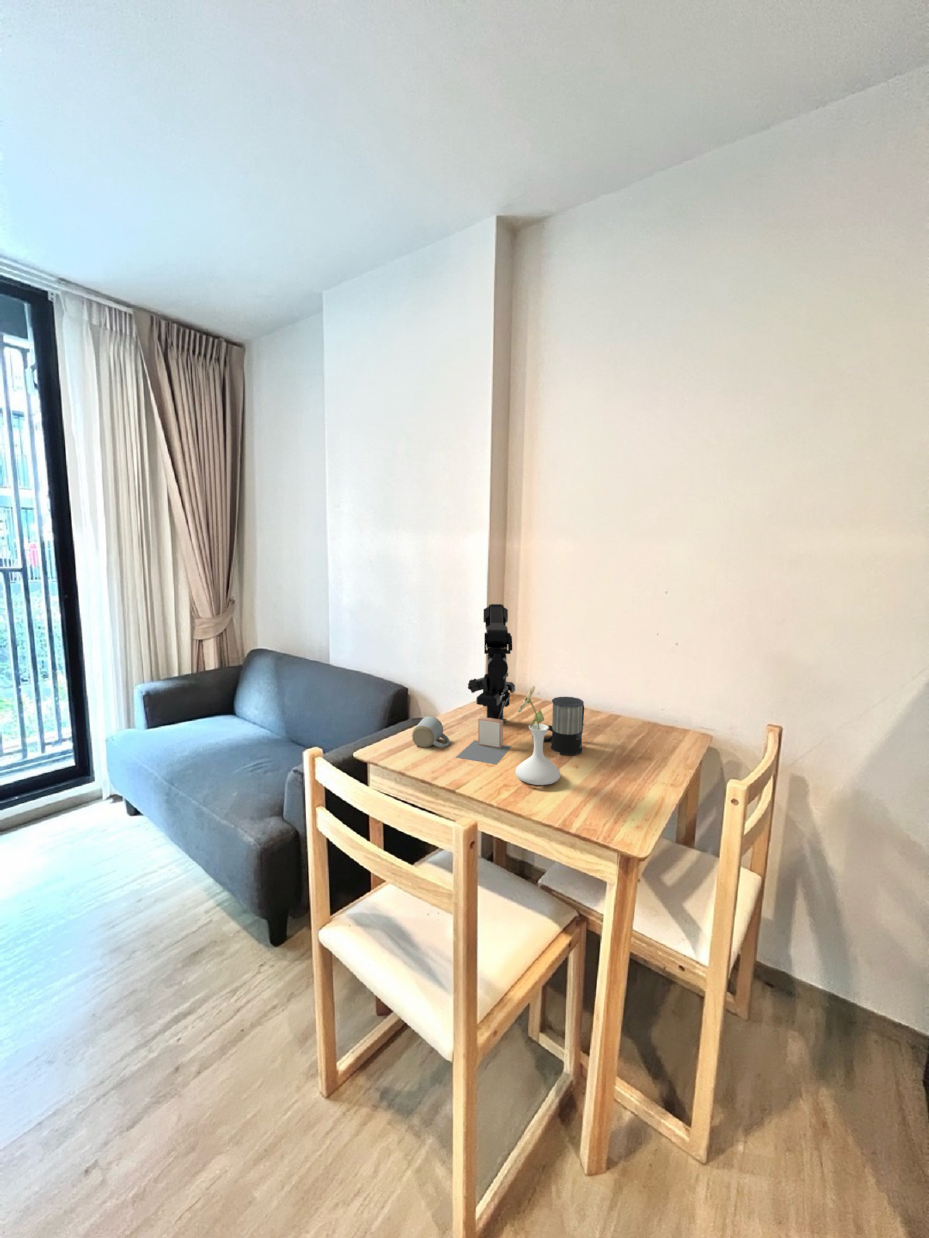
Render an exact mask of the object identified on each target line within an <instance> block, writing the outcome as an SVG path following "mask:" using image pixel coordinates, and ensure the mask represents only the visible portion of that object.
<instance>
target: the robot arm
mask: <svg viewBox="0 0 929 1238" xmlns="http://www.w3.org/2000/svg"><path fill="white" fill-rule="evenodd" d="M508 620H509V610H508V608H507V607H505V606H504V604H502V603H490V604H488V606H487V607H486V608H485V607H484V608H483V623H485V631H486V632H484V635H483V636H484V638H483V639H484V645H483V646H484V648H483V649H484V654H485V655H486V654H487V656H486V657H487V658H486V659H487V663H486V664H487V665H486V667H487V668H486V669H487V670H486V671H487V672H486V673H485V674H484V675H483V677H480V678H473V679H470V680H469V681H468V683H467V689H468V690H470V692H471V694H474V693H476V692H479V691H482V692H481V693H479V694H478V696H476V705H477V706H479V705H480V706H482V707H486V718H493V719H500V720H503V724H504V723H506V722H507V720H508V719H507V718H504V709H505V707H506V708H508V707H509V706H510V703H511V702H510V699H511V694H513V693H514V692H516V684H514V683H513V682H511V681H507V678H508V676H509V672H508V671H509V665H508V662H507V655H511V651H513V637H512V635H511V632H509V630H508V626H506V624H508V622H509V621H508Z"/></svg>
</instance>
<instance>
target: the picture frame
mask: <svg viewBox="0 0 929 1238" xmlns="http://www.w3.org/2000/svg"><path fill="white" fill-rule="evenodd" d="M477 719H478V728H477V730H478V731H477V733H478V736H477V738H478V739H477V741H478V745H483V746H489V747H495V748H501V747H502V746H503V745H504V723H503V720H500V719H493V718H487V716H486V717H485V716H480V717H479V718H477Z"/></svg>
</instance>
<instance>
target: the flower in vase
mask: <svg viewBox="0 0 929 1238" xmlns="http://www.w3.org/2000/svg"><path fill="white" fill-rule="evenodd" d="M535 689H536V686H535V685H531V687H530V689H529V691H528V693H527V696H525V697H524V699H523V701H522V703H521V704H520V705H519V707H518V709H517V710H516V712H517V713H518V714H520V713H521V712H523V710H524V708H525V707H526V705H527V704H530V705H531V707H532V709H533V712H534V715H533V718H534V719H533V720H532V722H531V723H530V725H528V728H529V730H530V732H531V735H532V734H533V737H532V739H533V738H534V739H533V752H532V755H531V756H529V757H528V758H526V759H524V760H523V761H522V762H521V763H519V764H518V765H516V768H515V771H514V772H515V775H516V777H517V778H518V779H519V780H520V781H522V782H525V784H528V785H529V784H531V785H536V786H546V785H551V784H554V783H556V782H558V781H559V779H560V778H561V776H562V775H561V774H562V773H561V772H560V769H559V768H558V766H556V765H555V763H554V762H552V761H551V760H549V759H548V758H547V757H546V756H545V754H544V742H543V740H544V739H545V736H546V733H547V731H549V730H548V729H549V727H548V726H549V725H547V724H544V723H543V721H544V720H545V717H544V714H543V713H542V710H541V709H539V710H538V711H536V708H535V707H534V704H533V702H532V699H531V697H532V695H533V694H534V691H535Z"/></svg>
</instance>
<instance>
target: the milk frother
mask: <svg viewBox="0 0 929 1238" xmlns="http://www.w3.org/2000/svg"><path fill="white" fill-rule="evenodd" d="M551 702H552V720H551V721H552V723H551V724H552V725H547V726H548V727H549V729H548V730H547V731H550V732H551V733H552V734H551V736H549V737H547V738H545V737H544V740H543V743H550V742H551V746H550V749H551V750H552V751H553V752H556V753H558V754H559V755H561V756H577V755H580V754H582V752H583V742H582V741H583V738H582V737H583V731H584V718H585V717H584V716H585V705H584V704H585V702H584V701H583V699H581V698H578V697H573V696H557V697H553V698H552V699H551ZM531 735H532V739H533V740H534V738H533V734H532V733H531Z"/></svg>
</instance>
